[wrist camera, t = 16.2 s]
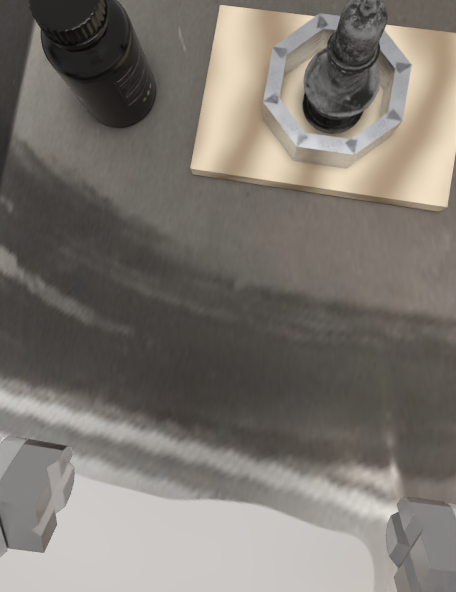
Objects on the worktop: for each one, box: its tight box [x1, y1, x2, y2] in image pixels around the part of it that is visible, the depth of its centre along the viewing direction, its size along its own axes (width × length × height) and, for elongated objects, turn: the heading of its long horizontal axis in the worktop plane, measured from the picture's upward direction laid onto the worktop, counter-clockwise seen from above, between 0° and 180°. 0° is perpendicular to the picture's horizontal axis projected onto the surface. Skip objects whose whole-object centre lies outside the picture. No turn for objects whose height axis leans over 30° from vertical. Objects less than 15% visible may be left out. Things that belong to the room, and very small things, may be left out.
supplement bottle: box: [29, 0, 155, 127], centre depth 33 cm, size 7×7×12 cm
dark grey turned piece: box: [302, 0, 388, 134], centre depth 30 cm, size 6×6×12 cm
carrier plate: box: [190, 5, 456, 212], centre depth 37 cm, size 22×15×2 cm
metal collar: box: [262, 13, 412, 169], centre depth 34 cm, size 11×11×3 cm
